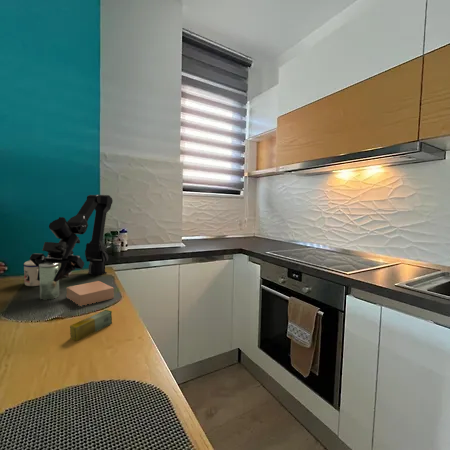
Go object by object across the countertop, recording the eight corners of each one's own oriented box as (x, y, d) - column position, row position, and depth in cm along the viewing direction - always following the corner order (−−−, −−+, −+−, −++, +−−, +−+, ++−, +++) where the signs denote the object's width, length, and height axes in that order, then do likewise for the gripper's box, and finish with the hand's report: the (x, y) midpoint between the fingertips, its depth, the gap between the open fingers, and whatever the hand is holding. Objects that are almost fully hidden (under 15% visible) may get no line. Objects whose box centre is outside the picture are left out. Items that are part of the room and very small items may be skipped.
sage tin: (56, 293, 106) (55, 260, 105) (62, 297, 102) (61, 263, 101) (37, 296, 102) (36, 263, 100) (42, 301, 98) (42, 266, 96)
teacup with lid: (23, 282, 118) (22, 255, 117) (48, 279, 123) (47, 253, 122) (25, 289, 108) (24, 260, 107) (52, 286, 114) (51, 258, 113)
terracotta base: (98, 290, 111) (98, 280, 111) (113, 298, 103) (113, 287, 103) (66, 297, 102) (66, 287, 101) (80, 306, 94) (80, 295, 94)
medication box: (106, 322, 84) (105, 309, 83) (112, 323, 83) (112, 310, 82) (69, 339, 73) (69, 325, 73) (76, 341, 72) (76, 327, 71)
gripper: (32, 232, 104) (8, 267, 94) (79, 234, 103) (60, 270, 93) (47, 249, 113) (27, 283, 103) (91, 251, 112) (75, 286, 102)
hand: (46, 280), depth 100 cm, fingers open, 6 cm apart
